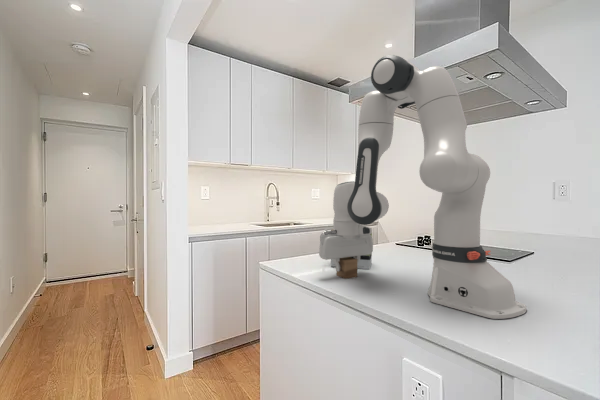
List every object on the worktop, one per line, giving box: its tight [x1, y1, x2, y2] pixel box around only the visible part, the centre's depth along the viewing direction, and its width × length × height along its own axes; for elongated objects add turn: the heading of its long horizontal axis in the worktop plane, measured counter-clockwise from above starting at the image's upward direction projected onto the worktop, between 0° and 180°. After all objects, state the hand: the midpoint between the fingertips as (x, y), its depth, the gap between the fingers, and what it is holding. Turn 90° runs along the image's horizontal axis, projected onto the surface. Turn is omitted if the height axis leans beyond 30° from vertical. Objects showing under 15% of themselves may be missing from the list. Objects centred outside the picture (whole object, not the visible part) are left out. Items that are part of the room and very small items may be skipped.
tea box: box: [330, 227, 373, 270], centre depth 122 cm, size 15×10×15 cm, turn 73°
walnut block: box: [336, 257, 358, 280], centre depth 106 cm, size 5×5×6 cm
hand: (346, 269), depth 106 cm, fingers closed on walnut block, 5 cm apart
